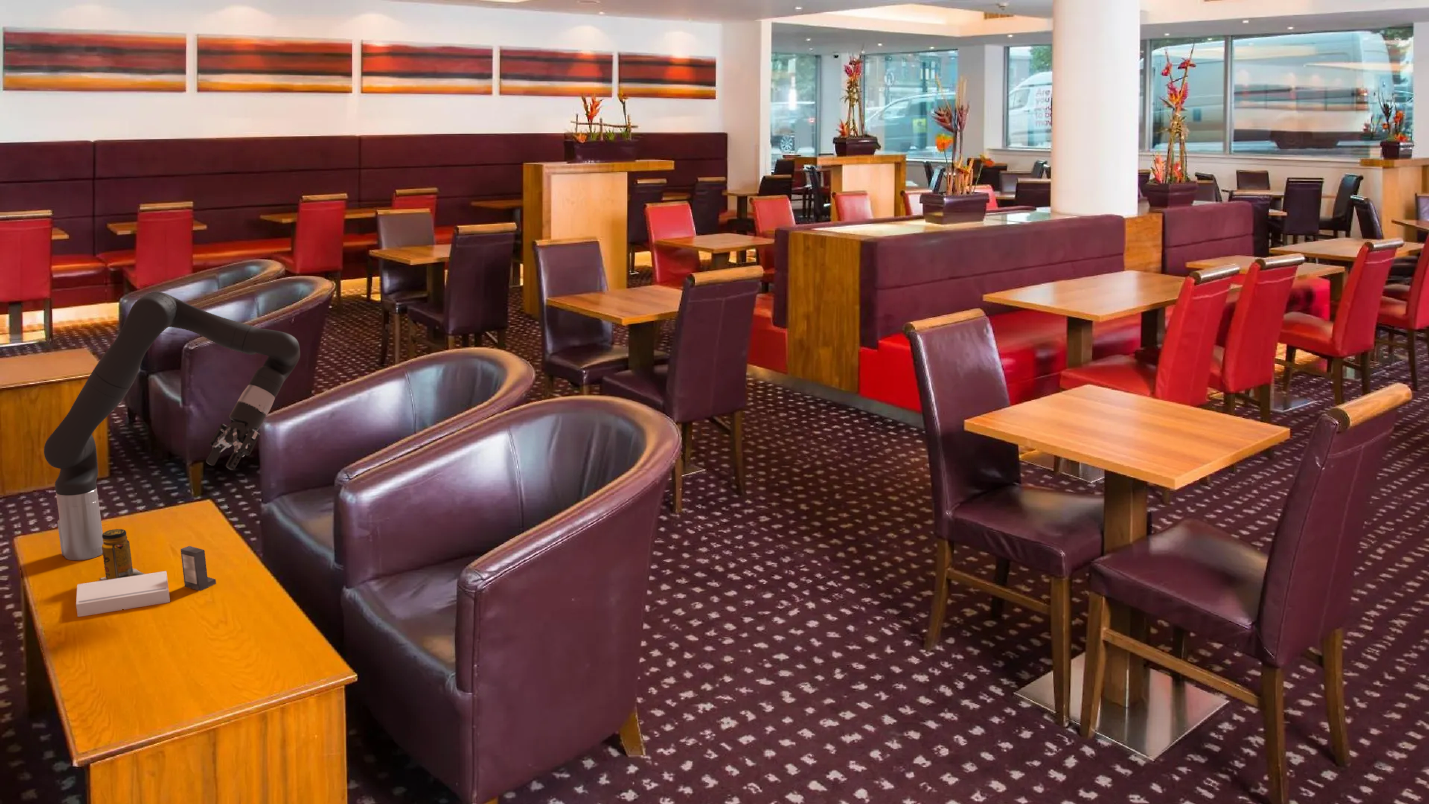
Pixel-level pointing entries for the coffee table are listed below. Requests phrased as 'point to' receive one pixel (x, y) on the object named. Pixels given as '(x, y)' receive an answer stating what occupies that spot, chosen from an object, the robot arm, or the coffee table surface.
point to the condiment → (117, 555)
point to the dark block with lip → (195, 569)
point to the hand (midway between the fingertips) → (219, 466)
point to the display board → (122, 593)
